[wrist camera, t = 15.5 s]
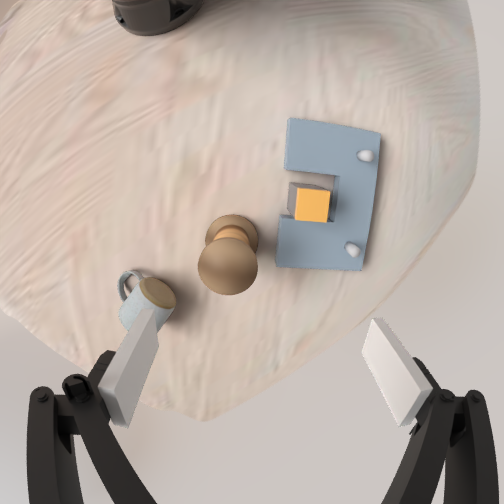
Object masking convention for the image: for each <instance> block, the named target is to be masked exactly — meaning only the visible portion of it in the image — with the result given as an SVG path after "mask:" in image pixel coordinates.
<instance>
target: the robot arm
mask: <svg viewBox="0 0 504 504" xmlns="http://www.w3.org/2000/svg"><path fill="white" fill-rule="evenodd" d="M203 1H204V0H112V4H113V9H114V14H115V17H116V20H117V21H118V23H119V24H120V25H121V26H122V27H123V28H124V29H125V30H127V31H128V32H130V33H132V34H136V35H142V36H150V35H157V34H162V33H165V32H168V31H170V30H173V29H175V28H177V27H179V26H181V25H182V24H184V23H185V22H187V21H188V20H189V19H190V18H192V17H193V16H194V15H195V14H196V12H197V11H198V10H199V9H200V7H201V5H202V3H203ZM158 347H159V344H158V336H157V328H156V320H155V311H154V309H146V308H142V309H141V311H140V313H139V314H138V316H137V318H136V319H135V321H134V323H133V324H132V326H131V328H130V329H129V331H128V333H127V335H126V336H125V338H124V340H123V341H122V343H121V345H120V347H119V348H118V350H117V352H115V351H109V350H107V351H106V352H104V353H103V354H102V355H100V357H99V359H98V360H97V362H96V364H95V365H94V367H93V369H92V370H91V372H90V374H89V375H88V377H86V376H84V375H81V374H73V375H70V376H68V377H67V378H66V379H64V381H63V383H62V388H63V390H64V392H65V395H54V393H53V391H52V390H51V389H50V388H48V387H43V386H42V387H38V388H36V389H34V390H33V392H32V393H31V395H30V403H29V412H28V426H27V479H28V480H27V481H28V492H29V503H30V504H84V503H83V498H82V493H81V488H80V482H79V477H78V471H77V464H76V456H75V447H74V437H73V435H81V437H82V439H83V442H84V444H85V446H86V449H87V451H88V453H89V455H90V457H91V460H92V462H93V464H94V466H95V468H96V470H97V472H98V474H99V476H100V478H101V480H102V482H103V484H104V486H105V488H106V489H107V491H108V493H109V495H110V497H111V498H112V500H113V502H114V503H115V504H157V503H156V502H155V500H154V499H153V497H152V496H151V495H150V493H149V492H148V491H147V489H146V487H145V486H144V485H143V483H142V482H141V480H140V479H139V477H138V475H137V474H136V472H135V471H134V469H133V468H132V466H131V464H130V463H129V461H128V459H127V458H126V456H125V454H124V452H123V451H122V449H121V447H120V445H119V444H118V442H117V440H116V438H115V436H114V435H113V432H112V430H111V428H110V426H109V424H108V423H109V421H110V418H111V420H112V422H113V424H114V425H117V426H121V427H125V428H129V425H130V422H131V419H132V416H133V413H134V411H135V408H136V405H137V402H138V400H139V397H140V394H141V392H142V389H143V386H144V384H145V381H146V378H147V376H148V373H149V370H150V368H151V365H152V363H153V360H154V358H155V355H156V352H157V350H158ZM361 353H362V355H363V357H364V359H365V361H366V363H367V365H368V367H369V368H370V371H371V372H372V374H373V376H374V378H375V380H376V382H377V384H378V386H379V388H380V390H381V392H382V394H383V396H384V398H385V400H386V402H387V404H388V406H389V408H390V410H391V412H392V414H393V416H394V419H395V421H396V422H397V425H398V427H401V426H405V425H408V424H411V422H412V421H413V419H414V418H415V417H416V419H417V421H418V422H417V423H416V425H415V426H414V427H413V429H412V430H411V432H410V433H409V434H411V433H412V432H413V433H412V435H411V438H410V441H409V444H408V447H407V449H406V451H405V454H404V456H403V459H402V461H401V464H400V466H399V468H398V471H397V473H396V475H395V477H394V479H393V482H392V484H391V486H390V488H389V490H388V492H387V494H386V496H385V498H384V500H383V501H382V503H381V504H431V502H432V499H433V497H434V494H435V491H436V488H437V485H438V482H439V478H440V475H441V472H442V468H443V465H444V461H445V490H444V503H443V504H499V487H498V473H497V462H496V454H495V447H494V440H493V434H492V429H491V424H490V419H489V415H488V410H487V406H486V401H485V399H484V396H483V395H482V394H481V392H479V391H477V390H470V391H468V393H467V394H466V396H465V397H455V395H454V394H453V393H452V392H451V391H449V390H446V389H441V388H440V387H439V385H438V383H437V382H436V381H435V379H434V378H433V376H432V375H431V374H430V372H429V371H428V369H426V367H425V365H424V364H423V363H422V361H420V360H419V359H417V358H416V357H413V358H412V357H411V356H410V354H409V353H408V351H407V350H406V349H405V347H404V346H403V345H402V343H401V342H400V340H399V339H398V338H397V336H396V335H395V334H394V332H393V331H392V330H391V328H390V327H389V326H388V324H387V323H386V322H385V320H384V319H383V318H372V321H371V324H370V327H369V331H368V334H367V337H366V340H365V343H364V346H363V349H362V352H361Z"/></svg>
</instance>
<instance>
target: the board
mask: <svg viewBox="0 0 504 504" xmlns="http://www.w3.org/2000/svg"><path fill="white" fill-rule="evenodd" d="M380 136H381V134H380V133H376V132H371V131H367V130H362V129H357V128H352V127H347V126H342V125H336V124H330V123H324V122H318V121H311V120H304V119H296V118H289V119H288V121H287V134H286V147H285V160H284V169H286V170H295V171H304V172H313V173H322V174H329V175H335V179H334V188H333V197H332V205H331V213H330V219H327V223H325V222H313V221H300V220H296V219H295V218H294V217H293V216H291V215H280V216H279V226H278V236H277V246H276V256H275V263H276V266H277V267H290V268H310V269H330V270H352V271H361V269H362V265H363V260H364V255H365V250H366V244H367V239H368V233H369V228H370V222H371V215H372V209H373V202H374V195H375V187H376V179H377V170H378V160H379V149H380Z"/></svg>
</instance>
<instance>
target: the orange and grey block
mask: <svg viewBox="0 0 504 504" xmlns="http://www.w3.org/2000/svg"><path fill="white" fill-rule="evenodd" d="M329 199H330V191H328V190H325V189H323V188H321V187H318V186H316V185H309V184H299V183H289V192H288V203H287V209H288V211H289V212H290V213H291V214H292V216H293V217H294V218H295V219H296V220H300V221H313V222H325V223H327V215H328V207H329Z"/></svg>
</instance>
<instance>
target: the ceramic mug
mask: <svg viewBox="0 0 504 504" xmlns="http://www.w3.org/2000/svg"><path fill="white" fill-rule="evenodd" d="M131 274H133V275H135V276H136V277H137V278H138V279H139V281H140V282H139V283H137V285H136V286H135V287H134V289H133V290H132V292H131V293H130V295H129V296H128V297H127V296H126V294H125V291H124V281H125V280H126V279H127V277H128V276H130V275H131ZM117 287H118V293H119V295H120V298H121V300H122V301H123V304H122V306H121V307H120V309H119V319H120V321H121V323H122V325H123V326H124V328H125V329H126V330H127V331H129V329H130V328H131V326H132V324H133V323H134V321H135V319H136V318H137V316H138V314H139V313H140V311H141V309H142V308H146V309H154V311H155V320H156V328H157V333H158V331H159V330H160V329H161V327H162V326H163V324H164V323H165V321H166V320H167V319H168V317H169V316H170V315H171V313H172V312H173V310H174V308H175V305H176V298H175V295H174V293H173V291H172V290H171V289H170V288H169V287H168V286H167V285H166V284H165V283H163V282H162V281H160V280H158V279H155V278H151V277H147V278H144V277H143V275H142V274H140V273H139V272H137V271H134V270H131V271H126V272H124V273H123V274H122V275H121V276H120V278H119V280H118V284H117Z"/></svg>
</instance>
